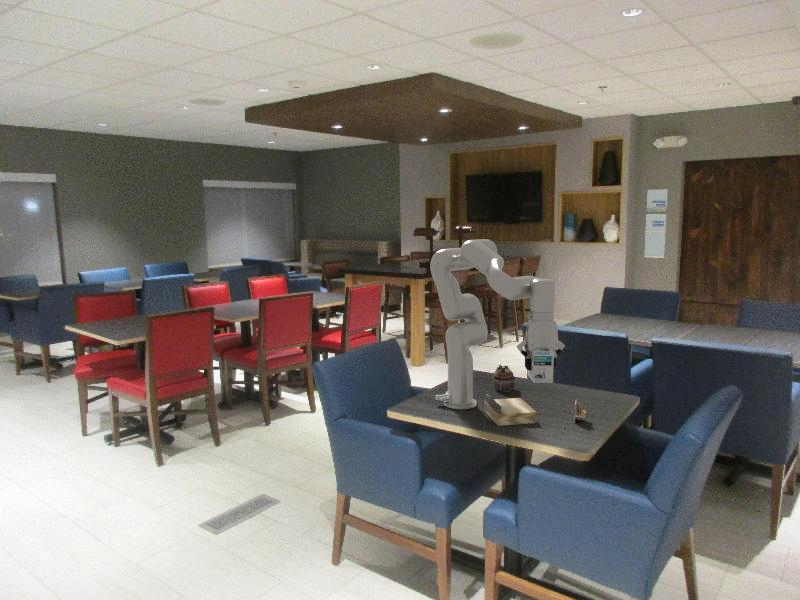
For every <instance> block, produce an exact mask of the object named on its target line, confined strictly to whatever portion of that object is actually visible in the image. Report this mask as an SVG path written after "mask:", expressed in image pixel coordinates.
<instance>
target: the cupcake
mask: <svg viewBox="0 0 800 600" xmlns="http://www.w3.org/2000/svg"><path fill="white" fill-rule="evenodd" d="M491 379H492V382H493V387H494V390H495V391H496V390H497V392H499V391H505V392H504V393H507V392H506V391H511V392H513V391H514V390H515V385H516V380H517V378H516V377H515V373H514V372H513V371H512V370H511V368H510V367H509V366H508V365H501V364H499V365H498V366H497V367H496V369H495V371H494V372H493V375H492V376H491ZM512 390H513V391H512Z"/></svg>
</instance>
